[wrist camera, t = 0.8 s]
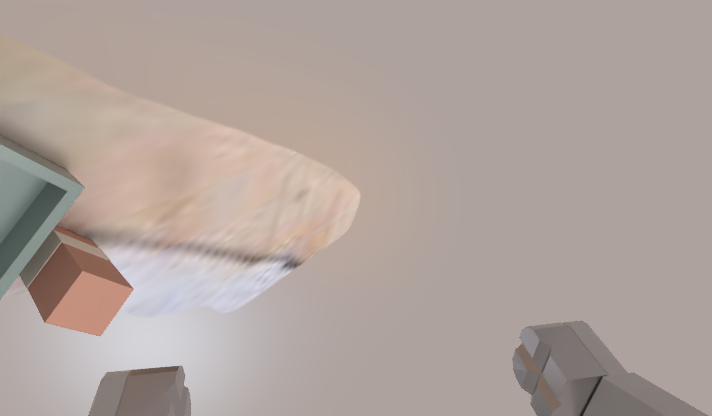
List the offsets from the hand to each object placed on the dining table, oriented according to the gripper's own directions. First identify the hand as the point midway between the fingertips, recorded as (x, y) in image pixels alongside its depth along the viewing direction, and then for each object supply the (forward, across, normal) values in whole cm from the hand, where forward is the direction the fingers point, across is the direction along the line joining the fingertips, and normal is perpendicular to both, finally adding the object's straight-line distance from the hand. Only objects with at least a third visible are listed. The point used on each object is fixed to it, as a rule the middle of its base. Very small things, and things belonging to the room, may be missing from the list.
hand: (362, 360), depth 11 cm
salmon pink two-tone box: (+35, +25, +21) cm, 48 cm away
